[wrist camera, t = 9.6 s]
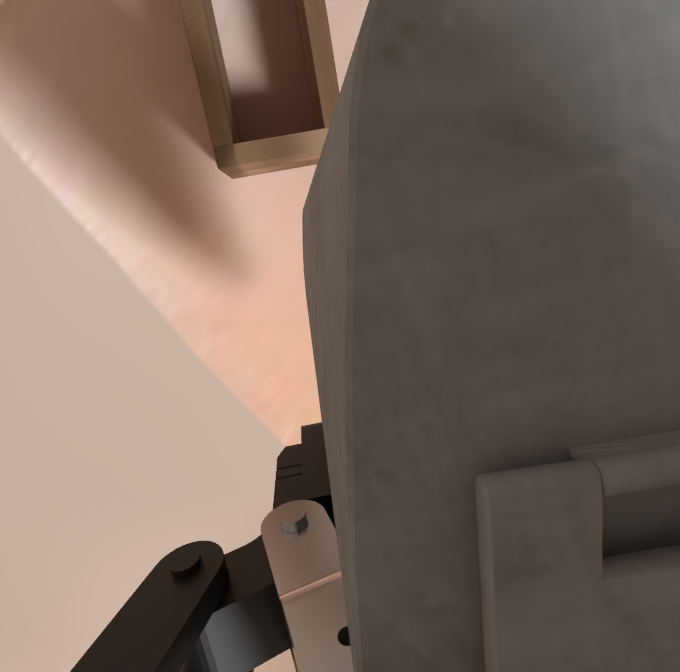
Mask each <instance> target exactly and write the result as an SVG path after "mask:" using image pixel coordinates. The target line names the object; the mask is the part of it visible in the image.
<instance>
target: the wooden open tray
mask: <svg viewBox="0 0 680 672" xmlns="http://www.w3.org/2000/svg"><path fill="white" fill-rule="evenodd" d="M179 2H180V6H181V11H182V15H183V19H184V24H185V28H186V32H187V36H188V41H189V45H190V49H191V54H192V58H193V62H194V67H195V71H196V75H197V80H198V84H199V88H200V93H201V97H202V101H203V106H204V110H205V114H206V119H207V123H208V127H209V132H210V136H211V140H212V144H213V149H214V153H215V157H216V162H217V166H218V169H220V170H221V171H222V172H224V173H225V174H227V175H228V176H229V177H231V178H232V179H234V178H240V177H246V176H251V175H257V174H263V173H269V172H274V171H280V170H286V169H292V168H297V167H303V166H309V165H315V164H318V161H319V158H320V155H321V151H322V148H323V145H324V142H325V139H326V136H327V132H328V129H329V126H330V123H331V120H332V117H333V114H334V110H335V107H336V104H337V101H338V98H339V95H340V94H339V87H338V81H337V74H336V68H335V62H334V55H333V49H332V43H331V36H330V30H329V23H328V17H327V11H326V4H325V0H295V3H296V8H297V14H298V20H299V26H300V32H301V37H302V43H303V49H304V55H305V61H306V66H307V72H308V78H309V84H310V90H311V95H312V101H313V107H314V113H315V119H316V125H317V130H312V131H306V132H300V133H294V134H288V135H283V136H277V137H271V138H265V139H259V140H253V141H247V142H241V138H240V134H239V129H238V124H237V120H236V115H235V110H234V106H233V101H232V96H231V92H230V87H229V82H228V78H227V73H226V69H225V64H224V59H223V55H222V50H221V45H220V41H219V36H218V31H217V27H216V22H215V17H214V13H213V8H212V3H211V0H179Z"/></svg>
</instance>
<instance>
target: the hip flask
mask: <svg viewBox="0 0 680 672" xmlns="http://www.w3.org/2000/svg"><path fill="white" fill-rule="evenodd" d="M303 262H304V277H305V288H306V298H307V306H308V314H309V323H310V330H311V338H312V346H313V354H314V362H315V370H316V378H317V386H318V394H319V401H320V409H321V417H322V425H323V433H324V441H325V449H326V457H327V465H328V472H329V480H330V488H331V496H332V504H333V512H334V520H335V528H336V536H337V543H338V551H339V559H340V567H341V575H342V583H343V591H344V599H345V606H346V614H347V622H348V630H349V638H350V646H351V654H352V662H353V670H354V672H680V0H369V3H368V6H367V10H366V13H365V16H364V19H363V22H362V25H361V28H360V32H359V35H358V38H357V41H356V44H355V47H354V51H353V54H352V57H351V60H350V63H349V66H348V69H347V73H346V76H345V79H344V82H343V85H342V88H341V92H340V95H339V98H338V101H337V104H336V107H335V110H334V114H333V117H332V120H331V123H330V126H329V129H328V132H327V136H326V139H325V142H324V145H323V148H322V151H321V155H320V158H319V161H318V164H317V167H316V170H315V173H314V177H313V180H312V183H311V186H310V189H309V192H308V196H307V199H306V202H305V205H304V208H303Z"/></svg>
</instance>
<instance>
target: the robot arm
mask: <svg viewBox="0 0 680 672" xmlns="http://www.w3.org/2000/svg"><path fill="white" fill-rule="evenodd" d="M301 440H302V444H297V445H292V446H287V447H285V448H284V450H283V451H282V452H281V454H280V455H279V456H278V458H277V471H276V480H275V491H274V492H275V493H274V503H273V510H272V511H271V512H270V513H269V514H268V515H267V516H266V517H265V518H264V520H263V522H262V524H261V535H260V536H259V537H257V538H256V539H255V540H253V541H252V542H250V543H249V544H247V545H245V546H243V547H240V548H238V549H236V550H234V551H232V552H229V553H227V554H225V555H224V553H223V550H222V548H221V547H220V546H219V545H218V544H216V543H214V542H211V541H197V542H192V543H189V544H186V545H183V546H181V547H179V548H177V549H175V550H174V551H172V552H170V553H169V554H168V555H166V556H165V557H164V558H163V559H162V560H161V561H160V562H159V563H158V564H157V565H156V566H155V567H154V569H153V570H152V571H151V572H150V573H149V575H148V576H147V577H146V578H145V580H144V581H143V582H142V583H141V585H140V586H139V587H138V588H137V590H136V591H135V592H134V593H133V595H132V596H131V597H130V598H129V600H128V601H127V602H126V603H125V605H124V606H123V607H122V608H121V609H120V611H119V612H118V613H117V614H116V616H115V617H114V618H113V619H112V620H111V622H110V623H109V624H108V625H107V627H106V628H105V629H104V630H103V632H102V633H101V634H100V635H99V637H98V638H97V639H96V640H95V642H94V643H93V644H92V645H91V647H90V648H89V649H88V650H87V652H86V653H85V654H84V655H83V656H82V658H81V659H80V660H79V661H78V663H77V664H76V665H75V667H74V668H73V669H72V670H71V672H253V671H254V668H255V667H257V666H259V665H261V664H263V663H264V662H266V661H268V660H270V659H271V658H273V657H275V656H277V655H278V654H281V653H282V652H284V651H286V650H288V649H289V648H290V651H291V655H292V658H293V662H294V666H295V669H296V672H354V670H353V662H352V654H351V646H350V638H349V630H348V622H347V614H346V606H345V599H344V591H343V583H342V575H341V567H340V559H339V551H338V543H337V536H336V528H335V520H334V512H333V504H332V496H331V488H330V480H329V472H328V465H327V457H326V449H325V441H324V433H323V425H322V422H321V423H316V424H310V425H305V426H301Z"/></svg>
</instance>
